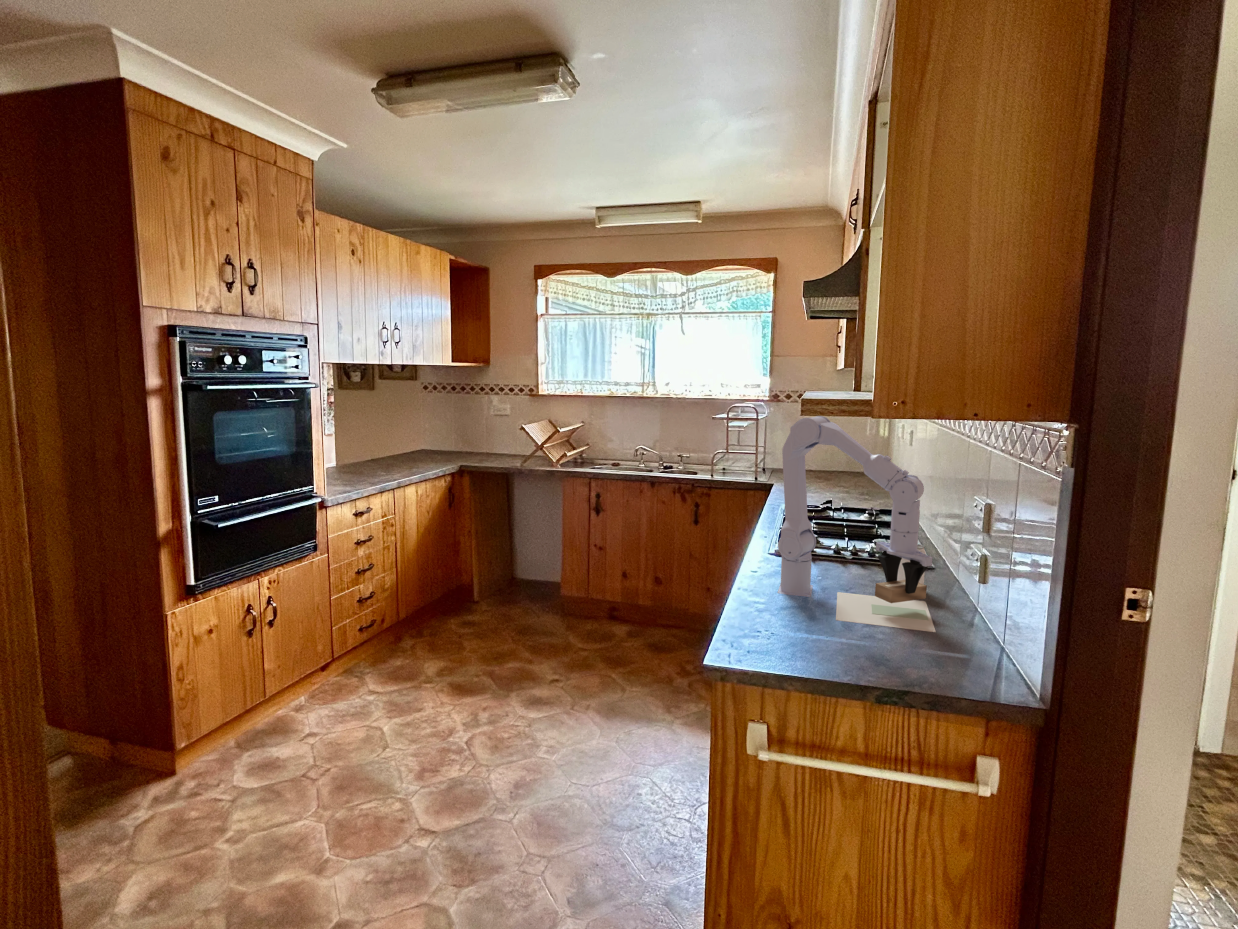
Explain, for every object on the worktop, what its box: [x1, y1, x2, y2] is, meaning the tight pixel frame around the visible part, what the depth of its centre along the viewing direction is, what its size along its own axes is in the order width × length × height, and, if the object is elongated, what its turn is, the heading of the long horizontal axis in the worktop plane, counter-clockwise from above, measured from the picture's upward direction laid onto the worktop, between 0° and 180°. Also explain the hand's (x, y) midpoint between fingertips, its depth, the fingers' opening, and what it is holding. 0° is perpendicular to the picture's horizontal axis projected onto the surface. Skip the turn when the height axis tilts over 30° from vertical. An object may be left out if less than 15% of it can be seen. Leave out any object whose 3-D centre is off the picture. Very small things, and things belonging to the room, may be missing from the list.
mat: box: [835, 591, 936, 633], centre depth 152 cm, size 20×20×1 cm
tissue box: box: [874, 580, 928, 603], centre depth 150 cm, size 10×5×3 cm, turn 111°
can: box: [897, 543, 927, 585], centre depth 166 cm, size 6×6×12 cm
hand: (900, 589), depth 150 cm, fingers closed on tissue box, 5 cm apart
